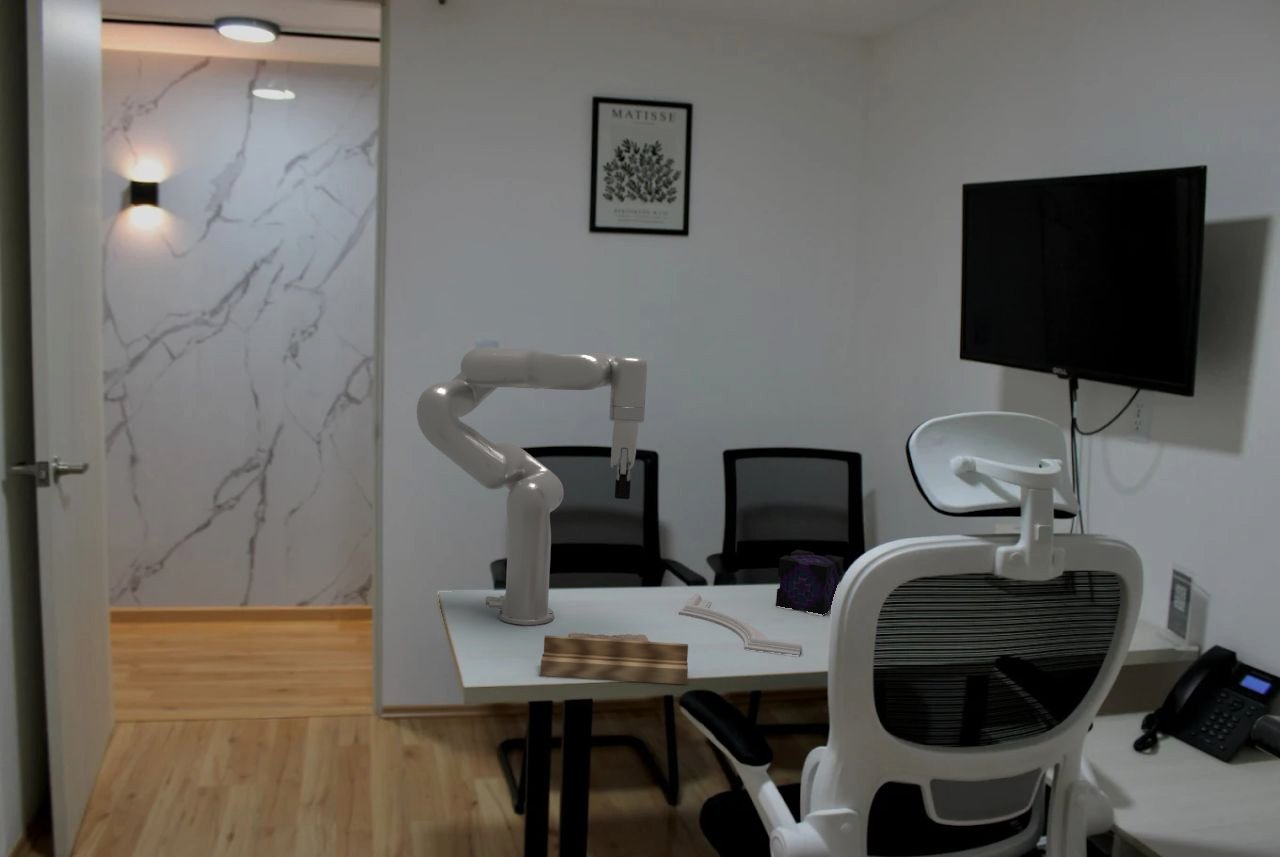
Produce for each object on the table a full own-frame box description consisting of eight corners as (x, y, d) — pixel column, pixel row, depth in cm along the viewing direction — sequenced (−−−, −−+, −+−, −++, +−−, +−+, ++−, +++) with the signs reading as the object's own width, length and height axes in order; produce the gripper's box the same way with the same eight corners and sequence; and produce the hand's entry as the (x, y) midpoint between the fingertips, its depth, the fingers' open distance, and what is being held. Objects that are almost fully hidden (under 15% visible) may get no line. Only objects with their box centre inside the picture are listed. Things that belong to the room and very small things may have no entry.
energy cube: (793, 596, 279) (797, 549, 277) (839, 605, 273) (843, 557, 272) (775, 607, 268) (779, 558, 267) (823, 616, 263) (827, 567, 261)
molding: (813, 658, 234) (814, 645, 234) (766, 664, 228) (768, 651, 228) (702, 602, 270) (703, 591, 270) (659, 606, 264) (660, 594, 264)
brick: (645, 652, 230) (646, 630, 230) (653, 666, 222) (654, 644, 221) (565, 654, 227) (566, 631, 226) (571, 668, 219) (572, 645, 218)
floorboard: (540, 675, 213) (541, 645, 212) (545, 658, 223) (547, 629, 222) (686, 684, 212) (688, 654, 212) (685, 666, 222) (687, 637, 222)
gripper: (610, 409, 246) (606, 490, 248) (607, 417, 231) (603, 504, 233) (644, 411, 246) (640, 492, 248) (644, 419, 231) (638, 506, 233)
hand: (622, 498), depth 241 cm, fingers closed
